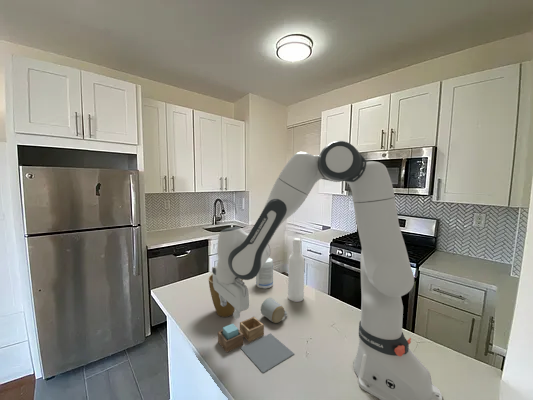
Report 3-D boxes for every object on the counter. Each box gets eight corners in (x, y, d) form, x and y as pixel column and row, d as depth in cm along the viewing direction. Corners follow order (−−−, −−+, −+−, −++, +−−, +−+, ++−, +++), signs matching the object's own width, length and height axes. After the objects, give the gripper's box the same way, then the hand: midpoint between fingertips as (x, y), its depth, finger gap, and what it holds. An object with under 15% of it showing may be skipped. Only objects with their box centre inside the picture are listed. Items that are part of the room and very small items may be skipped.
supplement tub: (276, 285, 130) (276, 259, 129) (264, 290, 123) (264, 263, 122) (264, 280, 137) (264, 255, 136) (252, 285, 130) (252, 259, 129)
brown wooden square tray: (243, 345, 82) (243, 334, 81) (226, 353, 78) (226, 341, 77) (234, 335, 87) (234, 325, 87) (217, 342, 83) (217, 331, 83)
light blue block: (238, 343, 82) (238, 328, 81) (228, 348, 79) (228, 333, 79) (232, 337, 85) (232, 323, 85) (222, 342, 83) (222, 327, 82)
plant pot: (222, 326, 92) (222, 287, 91) (202, 312, 102) (201, 277, 101) (249, 311, 103) (250, 276, 102) (228, 300, 113) (228, 268, 112)
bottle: (303, 302, 111) (304, 241, 109) (287, 301, 112) (288, 240, 110) (303, 294, 119) (305, 237, 117) (288, 293, 120) (289, 236, 118)
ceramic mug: (272, 327, 92) (273, 308, 91) (260, 317, 98) (260, 300, 98) (291, 318, 99) (291, 300, 98) (278, 309, 105) (279, 293, 104)
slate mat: (294, 354, 77) (294, 353, 77) (262, 373, 69) (262, 372, 69) (270, 334, 87) (270, 333, 87) (240, 348, 80) (240, 347, 80)
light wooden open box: (263, 335, 87) (263, 324, 87) (249, 342, 83) (249, 331, 83) (253, 326, 92) (253, 316, 92) (239, 333, 88) (239, 322, 88)
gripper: (254, 281, 74) (253, 322, 75) (225, 263, 90) (224, 297, 91) (237, 286, 70) (236, 329, 71) (209, 266, 87) (209, 301, 88)
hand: (229, 311), depth 82 cm, fingers open, 8 cm apart
